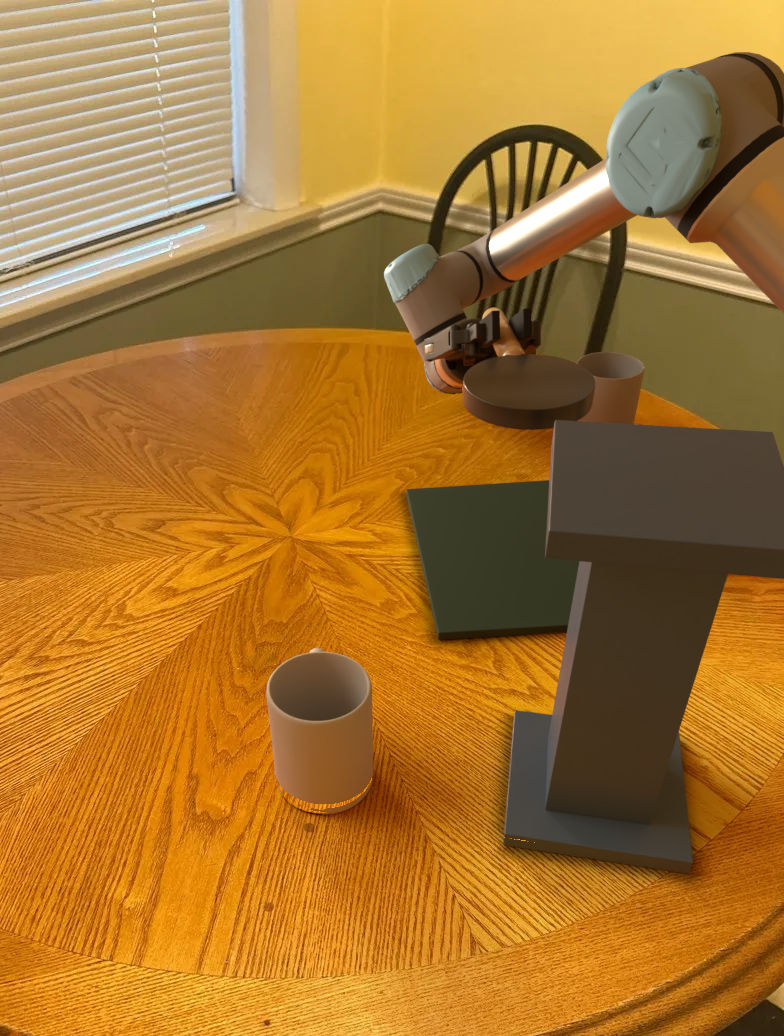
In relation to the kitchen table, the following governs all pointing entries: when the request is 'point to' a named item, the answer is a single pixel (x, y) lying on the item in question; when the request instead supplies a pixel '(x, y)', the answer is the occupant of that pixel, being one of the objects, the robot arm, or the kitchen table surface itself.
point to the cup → (613, 386)
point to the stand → (637, 628)
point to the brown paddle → (526, 386)
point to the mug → (322, 728)
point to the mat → (490, 560)
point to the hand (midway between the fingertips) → (511, 323)
